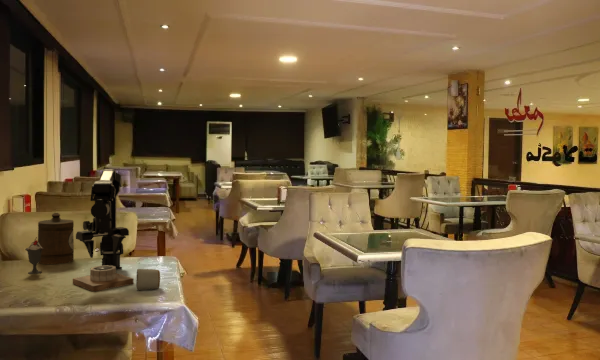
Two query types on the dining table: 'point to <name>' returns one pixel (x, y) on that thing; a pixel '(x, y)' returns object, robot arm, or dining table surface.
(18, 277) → the dining table surface
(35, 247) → the sundae
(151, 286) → the ceramic mug
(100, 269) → the smooth gray stone
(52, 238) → the wooden container
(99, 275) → the brown board with ring
